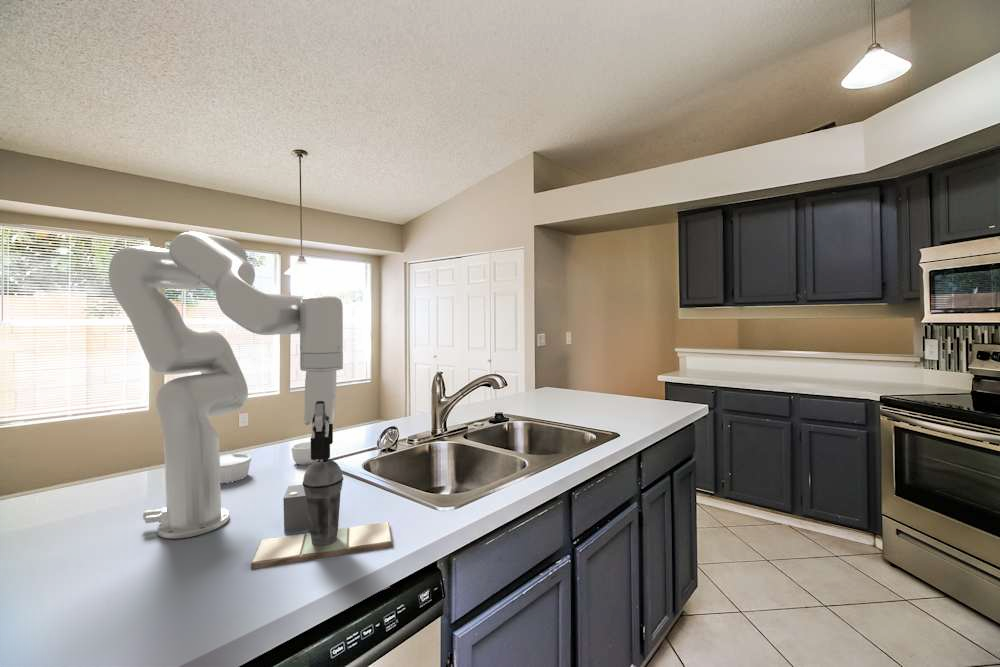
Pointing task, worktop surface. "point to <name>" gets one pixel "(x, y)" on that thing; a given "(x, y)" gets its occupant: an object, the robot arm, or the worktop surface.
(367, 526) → the game track
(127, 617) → the worktop surface
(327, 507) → the beverage cup
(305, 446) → the teacup
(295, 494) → the die
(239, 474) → the ramekin
